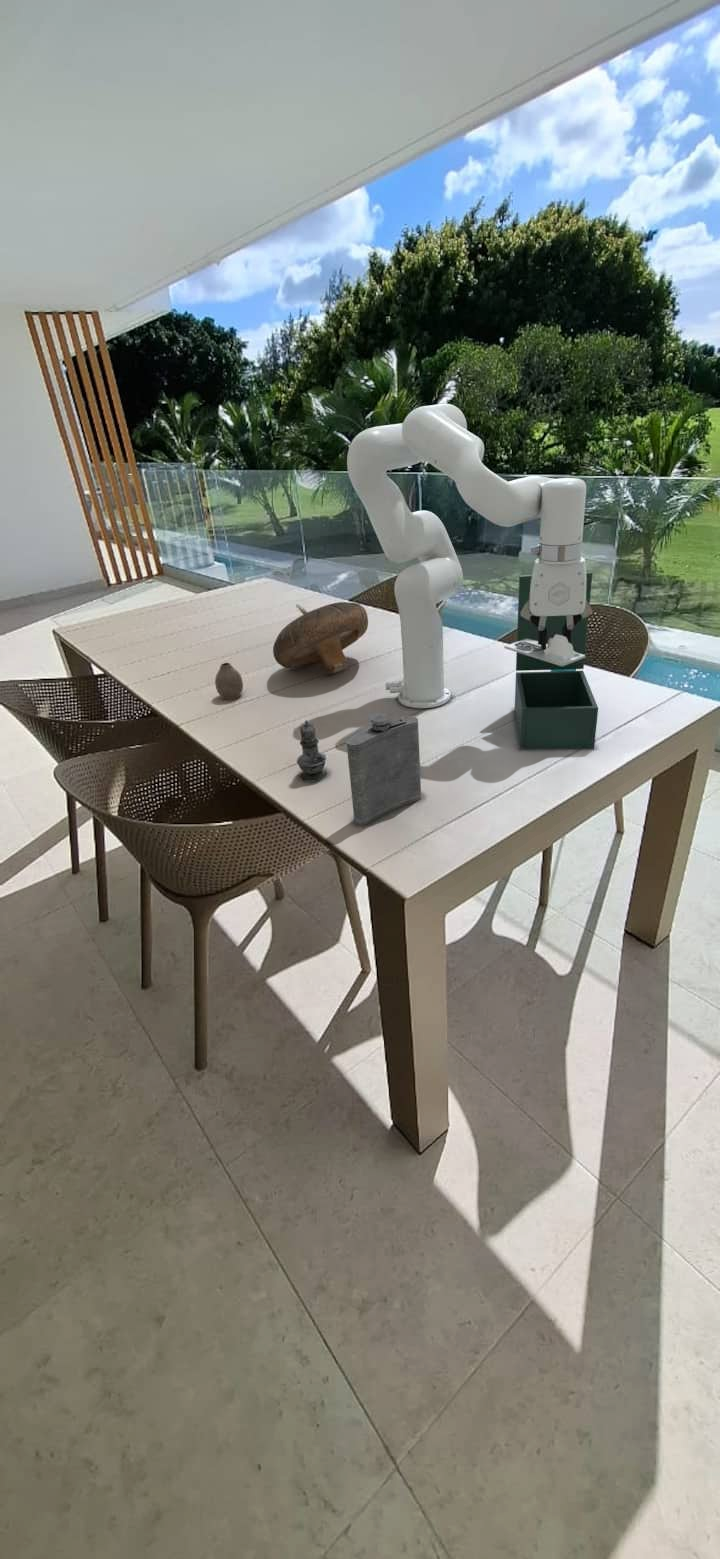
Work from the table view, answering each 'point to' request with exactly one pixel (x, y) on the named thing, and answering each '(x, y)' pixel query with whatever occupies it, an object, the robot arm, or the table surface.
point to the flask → (384, 767)
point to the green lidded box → (555, 710)
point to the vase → (228, 682)
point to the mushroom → (321, 636)
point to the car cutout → (548, 650)
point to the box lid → (549, 631)
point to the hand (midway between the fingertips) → (553, 646)
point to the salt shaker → (311, 755)
